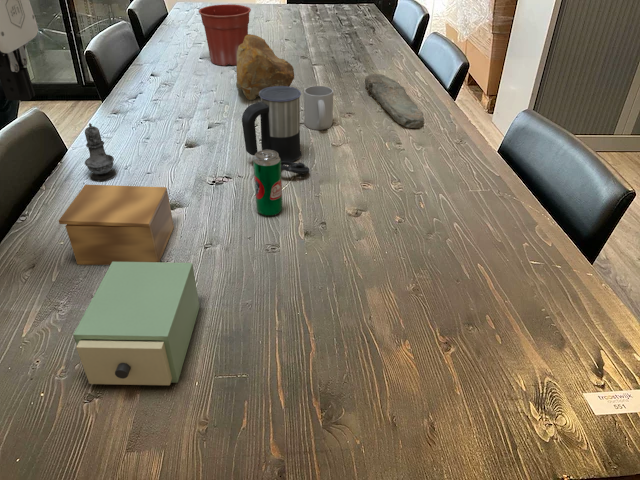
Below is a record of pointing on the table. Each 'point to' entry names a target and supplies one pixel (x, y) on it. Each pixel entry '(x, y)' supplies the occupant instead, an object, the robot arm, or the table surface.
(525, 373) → the table surface
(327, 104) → the cup
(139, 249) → the chest
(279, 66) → the jagged brown rock
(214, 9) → the flower pot
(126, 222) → the lid
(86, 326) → the cabinet
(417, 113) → the elongated rock
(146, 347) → the drawer
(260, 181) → the soda can
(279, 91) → the milk frother
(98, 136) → the grey chess piece
